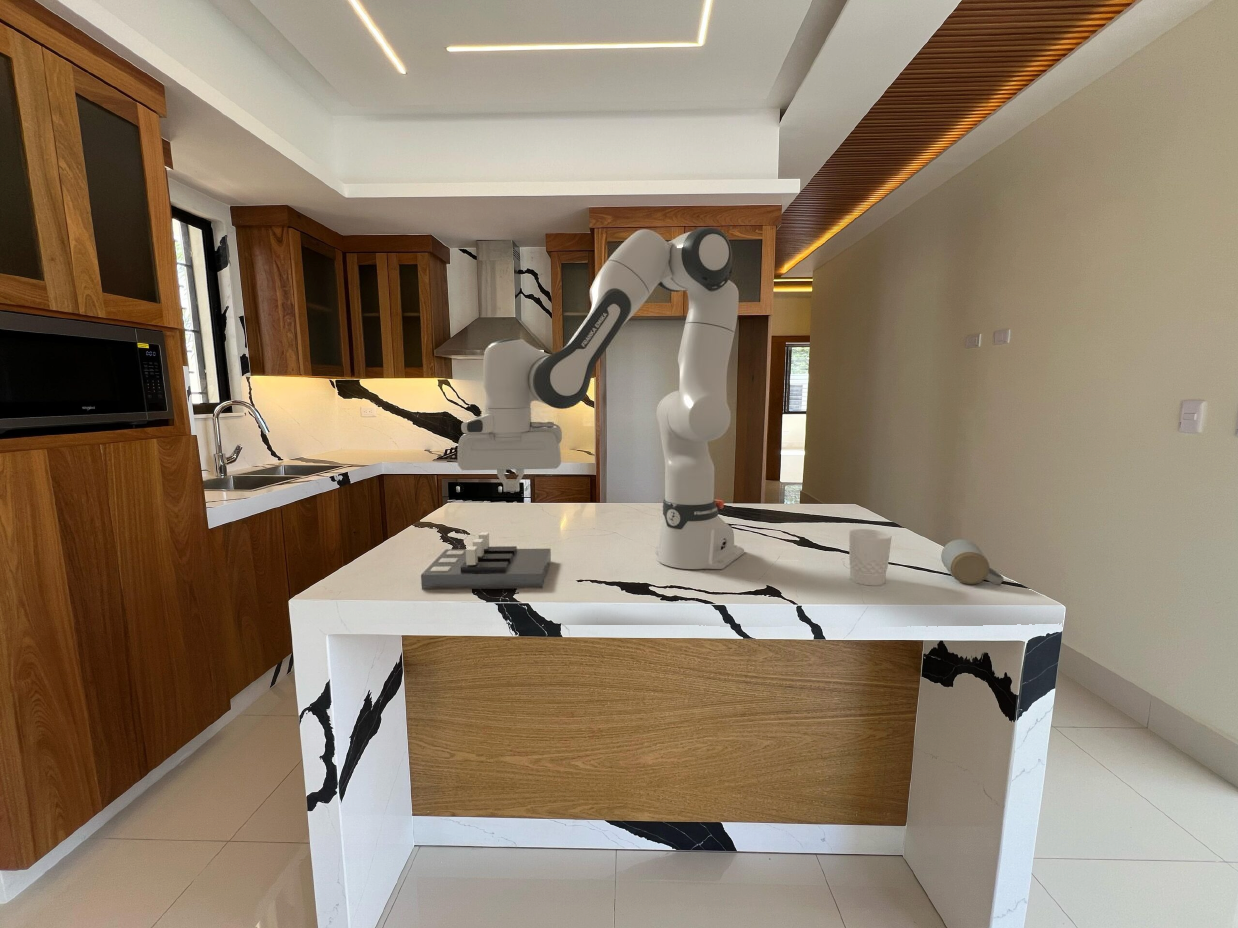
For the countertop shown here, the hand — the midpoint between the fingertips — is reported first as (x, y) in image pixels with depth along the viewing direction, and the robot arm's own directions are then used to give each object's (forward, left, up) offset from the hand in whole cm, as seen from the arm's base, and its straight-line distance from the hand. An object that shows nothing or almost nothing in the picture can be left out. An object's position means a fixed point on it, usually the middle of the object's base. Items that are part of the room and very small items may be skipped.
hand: (511, 491), depth 111 cm
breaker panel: (0, -8, -19) cm, 21 cm away
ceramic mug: (-67, +68, -20) cm, 97 cm away
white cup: (-52, +52, -19) cm, 76 cm away
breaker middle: (+2, -10, -15) cm, 18 cm away
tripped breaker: (+6, -6, -15) cm, 17 cm away
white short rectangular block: (-2, -14, -15) cm, 20 cm away
